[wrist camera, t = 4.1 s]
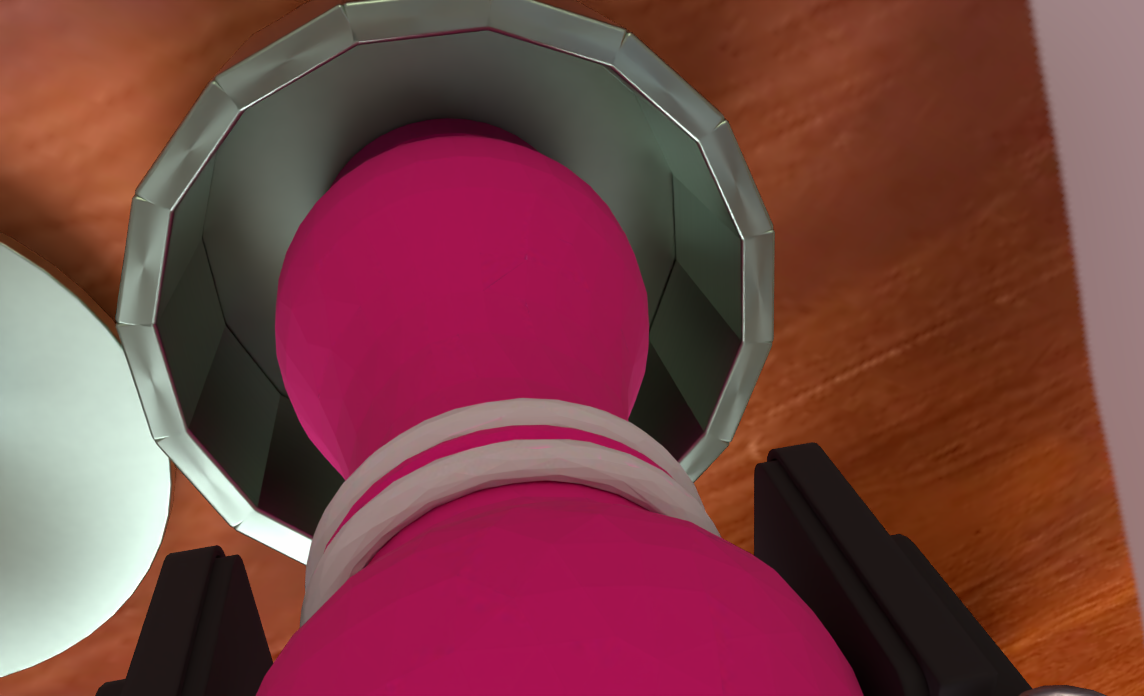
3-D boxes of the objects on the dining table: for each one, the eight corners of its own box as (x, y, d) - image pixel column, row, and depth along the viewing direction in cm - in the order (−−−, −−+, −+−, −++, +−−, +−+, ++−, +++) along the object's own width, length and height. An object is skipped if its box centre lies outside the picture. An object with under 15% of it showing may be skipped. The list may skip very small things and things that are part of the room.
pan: (247, 499, 25) (216, 639, 20) (106, 1, 20) (18, 36, 15) (703, 422, 27) (772, 537, 22) (690, -60, 21) (778, -45, 16)
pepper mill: (652, 179, 23) (1564, 1152, 5) (515, 421, 25) (835, 1688, 7) (371, 35, 21) (302, 962, 3) (246, 318, 23) (-242, 1851, 5)
